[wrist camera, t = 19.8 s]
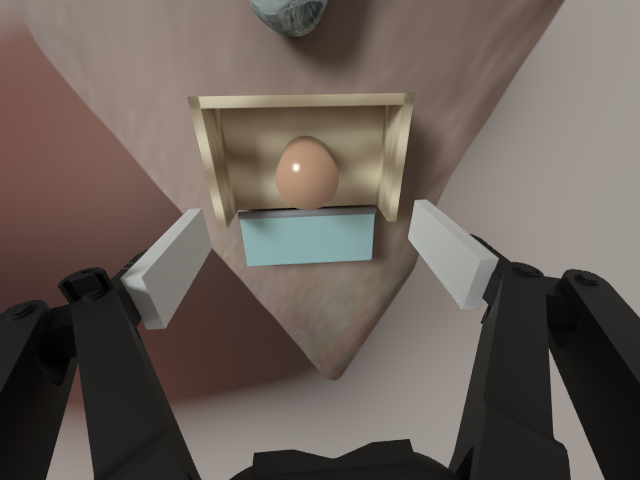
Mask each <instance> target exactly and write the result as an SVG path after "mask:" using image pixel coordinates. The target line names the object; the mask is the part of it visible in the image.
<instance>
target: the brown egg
mask: <svg viewBox="0 0 640 480" xmlns="http://www.w3.org/2000/svg"><path fill="white" fill-rule="evenodd" d="M338 184H339V174H338V170H337V167H336V165H335V163H334V161H333V159H332V157H331V155H330V153H329V152H328V150H327V148H326V146H325V145H324V144H323V143H322V142H321V141H320V140H319V139H317V138H315V137H312V136H299V137H296V138H294V139H292V140H291V141H290V142H289V143H288V144H287V145H286V146H285V148H284V150H283V153H282V156H281V159H280V162H279V165H278V168H277V171H276V186H277V189H278V192H279V194H280V195H281V197H282V198H283V199H284V200H285V201H286V202H287V203H288V204H289V205H291V206H293V207H295V208H297V209H301V210H313V209H317V208H320V207H322V206H324V205H325V204H327V203H328V202H329V201H330V200H331V199H332V198H333V196H334V195H335V193H336V191H337V188H338Z"/></svg>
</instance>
